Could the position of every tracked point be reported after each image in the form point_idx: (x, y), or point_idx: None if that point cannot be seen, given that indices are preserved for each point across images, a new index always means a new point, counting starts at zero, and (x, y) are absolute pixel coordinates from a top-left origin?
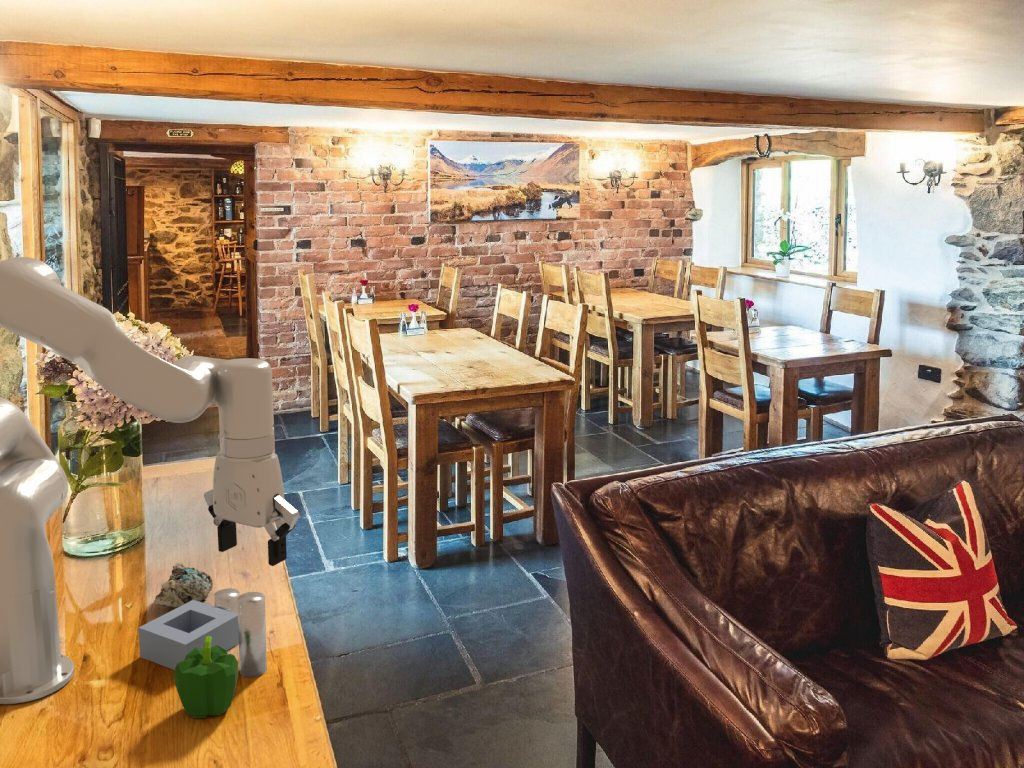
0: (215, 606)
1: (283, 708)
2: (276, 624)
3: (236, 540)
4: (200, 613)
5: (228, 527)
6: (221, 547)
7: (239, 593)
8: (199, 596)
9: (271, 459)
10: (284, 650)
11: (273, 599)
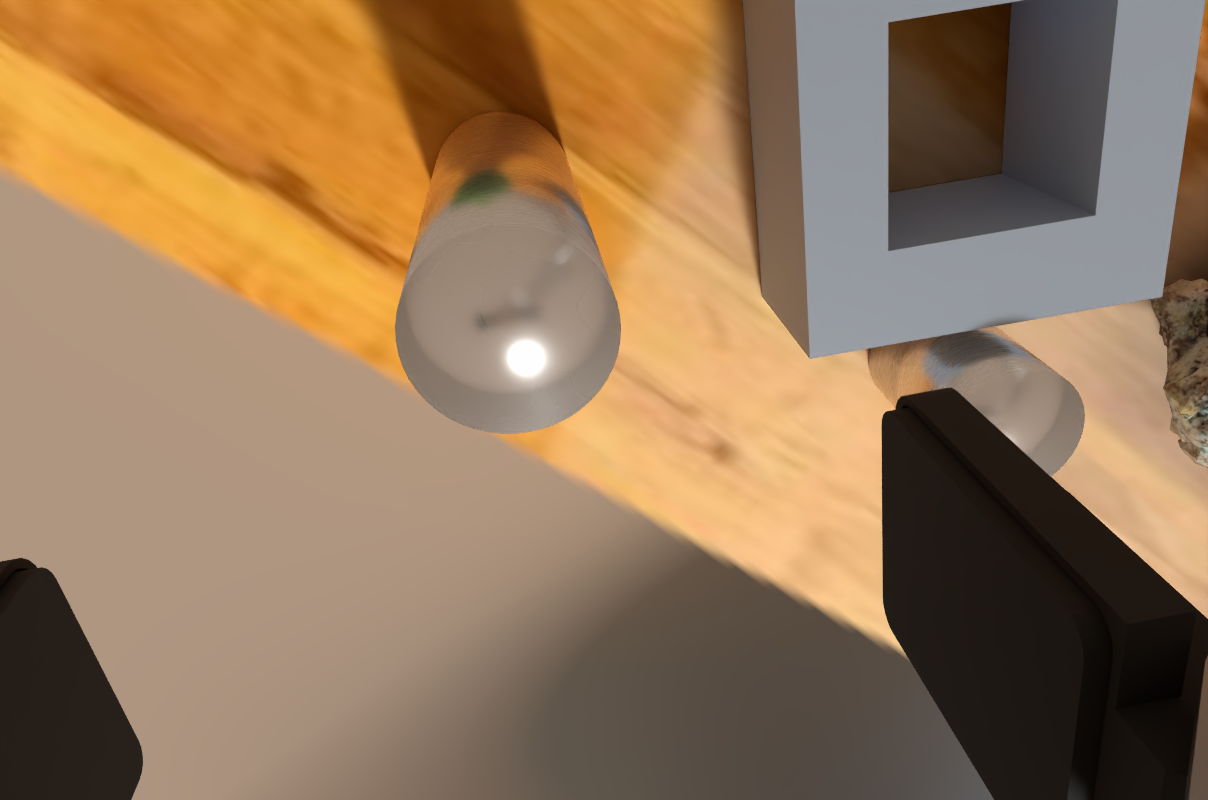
0: (1016, 347)
1: (67, 47)
2: (755, 500)
3: (912, 657)
4: (1012, 228)
5: (1047, 738)
6: (928, 429)
7: None
8: (1188, 372)
9: None
10: None
11: None
